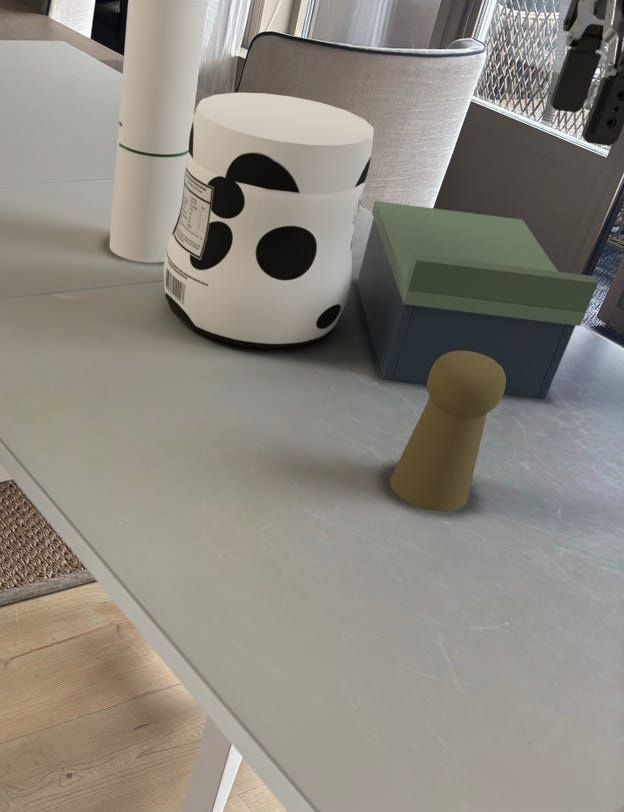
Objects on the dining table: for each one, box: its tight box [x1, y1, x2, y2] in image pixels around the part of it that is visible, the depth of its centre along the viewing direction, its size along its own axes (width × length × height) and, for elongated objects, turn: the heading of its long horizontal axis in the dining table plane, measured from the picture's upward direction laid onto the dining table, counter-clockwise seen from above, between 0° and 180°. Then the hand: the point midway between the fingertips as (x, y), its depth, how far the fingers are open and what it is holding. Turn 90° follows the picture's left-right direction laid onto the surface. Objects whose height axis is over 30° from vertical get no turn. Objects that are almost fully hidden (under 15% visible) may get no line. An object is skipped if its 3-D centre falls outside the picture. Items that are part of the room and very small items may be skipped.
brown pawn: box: [389, 351, 506, 512], centre depth 70 cm, size 6×6×11 cm
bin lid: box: [371, 200, 599, 327], centre depth 88 cm, size 15×22×4 cm
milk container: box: [163, 92, 375, 350], centre depth 87 cm, size 17×17×18 cm
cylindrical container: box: [109, 0, 209, 264], centre depth 95 cm, size 7×7×25 cm
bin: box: [356, 217, 576, 400], centre depth 92 cm, size 15×22×8 cm
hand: (579, 125), depth 68 cm, fingers open, 8 cm apart
